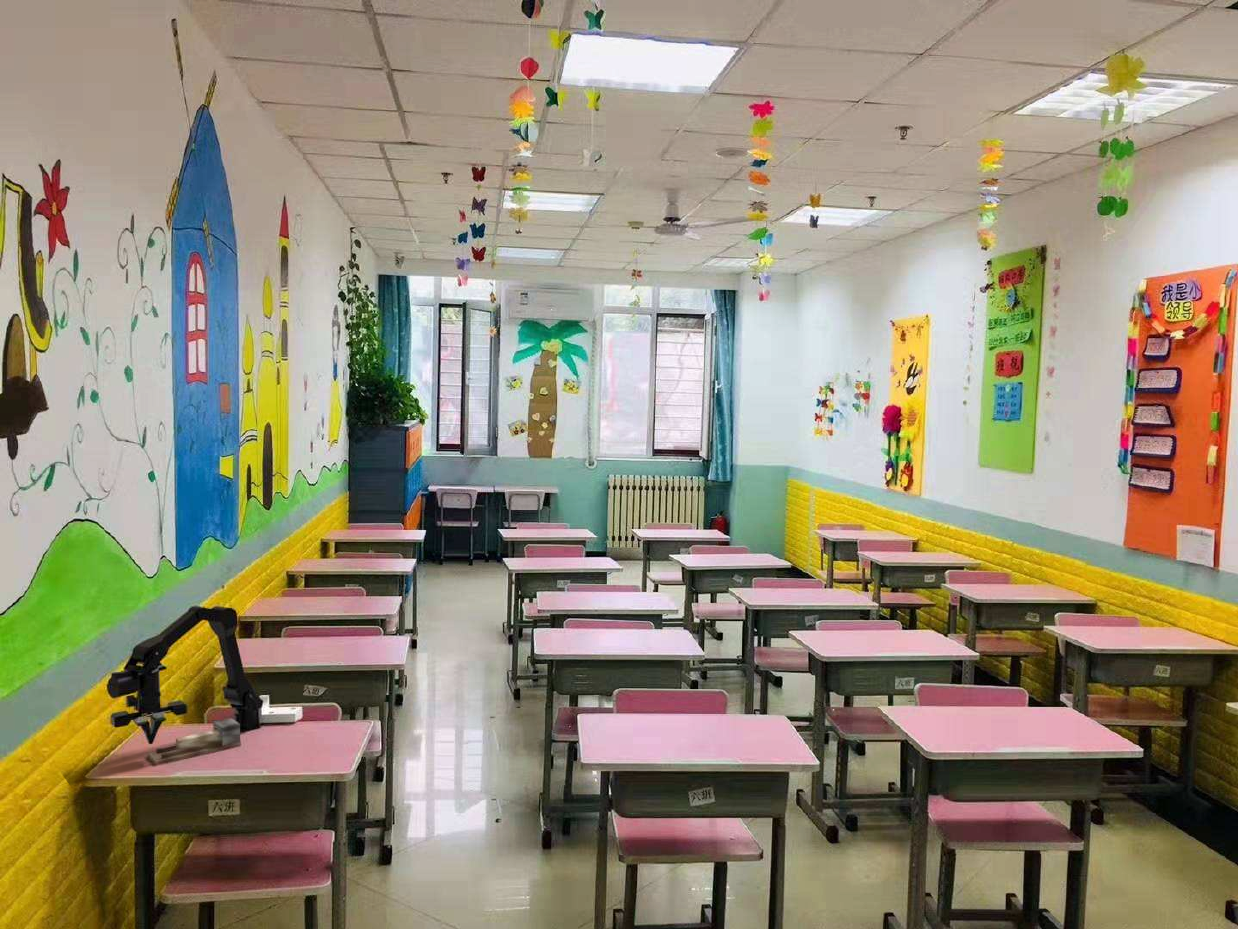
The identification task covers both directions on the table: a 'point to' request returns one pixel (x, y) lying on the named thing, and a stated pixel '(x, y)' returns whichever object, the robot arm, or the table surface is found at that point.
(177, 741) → the grey beige long block
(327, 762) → the table surface
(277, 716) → the bracket
